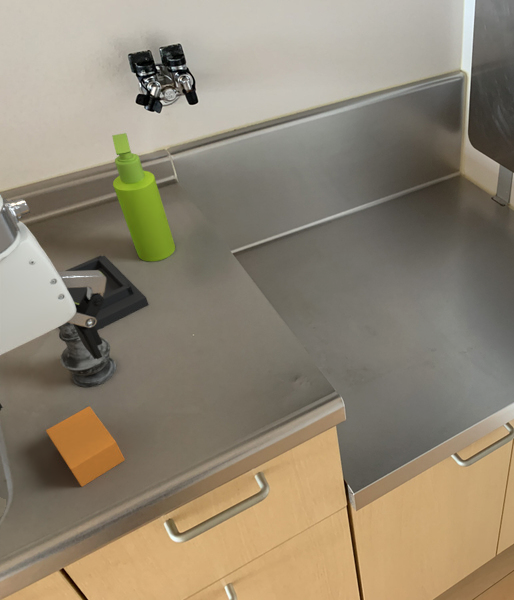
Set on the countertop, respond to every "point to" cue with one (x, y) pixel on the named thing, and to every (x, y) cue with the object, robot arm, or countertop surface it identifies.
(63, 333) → the grey chess piece
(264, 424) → the countertop surface
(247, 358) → the countertop surface
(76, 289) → the black tray
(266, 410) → the countertop surface
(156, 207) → the soap dispenser
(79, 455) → the orange block
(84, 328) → the robot arm
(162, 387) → the countertop surface
